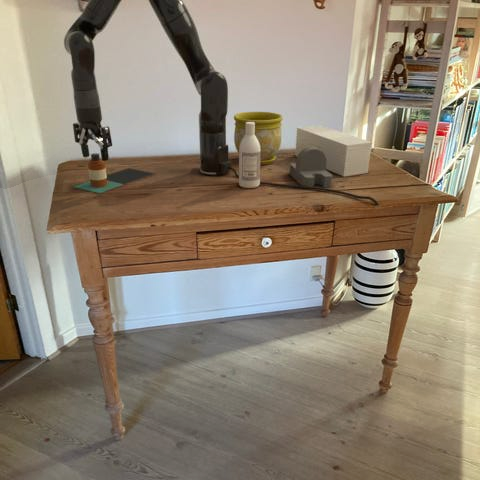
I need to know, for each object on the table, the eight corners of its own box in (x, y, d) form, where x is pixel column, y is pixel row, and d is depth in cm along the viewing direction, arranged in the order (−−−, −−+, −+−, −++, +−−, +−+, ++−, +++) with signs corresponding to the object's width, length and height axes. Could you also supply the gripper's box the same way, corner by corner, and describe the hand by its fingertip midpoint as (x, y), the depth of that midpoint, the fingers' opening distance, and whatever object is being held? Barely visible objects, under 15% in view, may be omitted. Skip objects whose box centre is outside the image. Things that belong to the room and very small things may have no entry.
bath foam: (263, 187, 173) (265, 123, 163) (244, 189, 170) (245, 125, 160) (253, 181, 178) (254, 119, 168) (235, 183, 176) (235, 121, 165)
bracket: (305, 188, 172) (307, 155, 166) (288, 173, 187) (290, 142, 181) (332, 186, 174) (335, 153, 168) (314, 171, 188) (316, 141, 183)
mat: (153, 174, 185) (153, 173, 185) (99, 193, 166) (99, 192, 166) (128, 169, 190) (128, 168, 190) (73, 187, 172) (73, 186, 172)
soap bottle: (111, 184, 174) (107, 153, 169) (99, 188, 170) (94, 157, 165) (99, 181, 176) (95, 151, 171) (87, 185, 172) (82, 154, 167)
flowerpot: (272, 169, 191) (274, 122, 182) (227, 164, 196) (226, 118, 188) (286, 157, 205) (288, 113, 197) (243, 153, 211) (243, 110, 202)
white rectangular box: (367, 173, 187) (371, 142, 182) (343, 176, 183) (347, 145, 178) (317, 152, 212) (319, 125, 206) (295, 155, 208) (296, 127, 202)
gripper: (113, 105, 159) (120, 159, 168) (80, 101, 166) (88, 153, 174) (95, 109, 154) (103, 164, 162) (62, 104, 160) (71, 158, 169)
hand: (95, 158), depth 168 cm, fingers open, 8 cm apart
